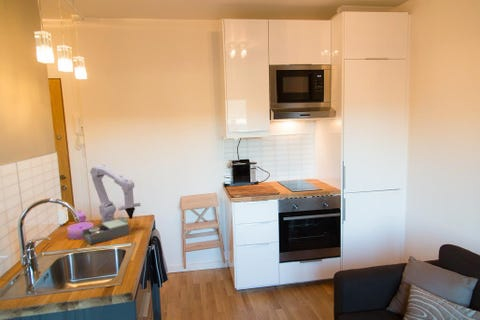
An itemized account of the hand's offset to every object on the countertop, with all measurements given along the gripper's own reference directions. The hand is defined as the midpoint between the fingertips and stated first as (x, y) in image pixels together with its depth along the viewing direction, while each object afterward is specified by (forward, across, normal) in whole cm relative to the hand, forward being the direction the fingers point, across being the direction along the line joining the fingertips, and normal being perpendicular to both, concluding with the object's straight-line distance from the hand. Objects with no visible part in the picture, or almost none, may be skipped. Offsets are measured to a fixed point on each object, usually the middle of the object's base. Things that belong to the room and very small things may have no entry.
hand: (130, 218), depth 208 cm
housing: (+8, -17, 0) cm, 18 cm away
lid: (+1, -11, 0) cm, 11 cm away
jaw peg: (+8, -23, -3) cm, 24 cm away
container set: (+8, -26, +21) cm, 34 cm away
